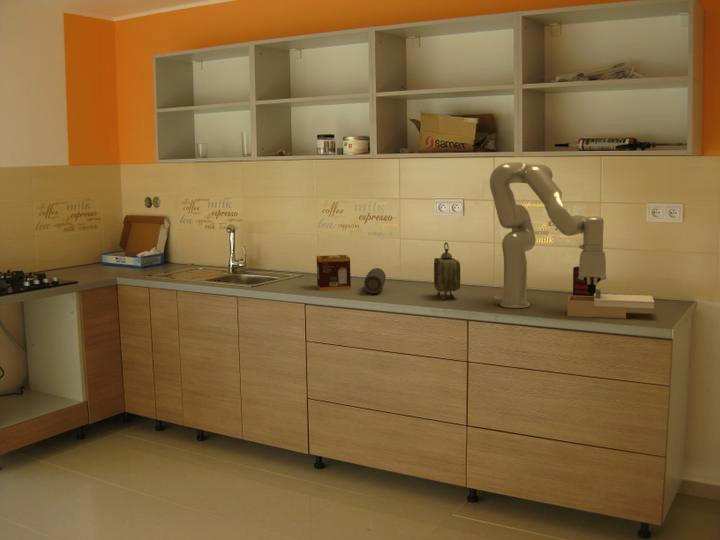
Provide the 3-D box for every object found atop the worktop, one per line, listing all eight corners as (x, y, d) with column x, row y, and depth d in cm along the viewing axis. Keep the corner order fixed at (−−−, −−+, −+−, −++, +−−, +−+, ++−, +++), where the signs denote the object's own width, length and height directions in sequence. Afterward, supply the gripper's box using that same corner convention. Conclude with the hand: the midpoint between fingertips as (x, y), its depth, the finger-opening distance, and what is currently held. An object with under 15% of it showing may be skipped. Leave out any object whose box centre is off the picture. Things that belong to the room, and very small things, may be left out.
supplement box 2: (595, 304, 337) (596, 267, 334) (592, 306, 333) (593, 268, 330) (575, 302, 341) (576, 265, 339) (571, 304, 338) (572, 267, 335)
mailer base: (567, 316, 314) (567, 300, 314) (568, 310, 325) (568, 295, 324) (625, 318, 308) (626, 302, 307) (624, 312, 319) (625, 297, 318)
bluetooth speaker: (383, 295, 364) (383, 274, 363) (363, 295, 365) (362, 274, 364) (386, 287, 386) (386, 266, 385) (367, 287, 387) (367, 266, 386)
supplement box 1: (316, 287, 390) (316, 255, 387) (347, 285, 392) (347, 254, 390) (319, 290, 379) (318, 258, 377) (351, 289, 382) (350, 257, 379)
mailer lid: (594, 306, 310) (594, 293, 310) (593, 300, 322) (594, 287, 322) (653, 308, 304) (654, 295, 303) (651, 302, 316) (652, 289, 315)
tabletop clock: (433, 295, 363) (433, 240, 359) (453, 294, 364) (453, 240, 360) (440, 301, 349) (440, 244, 345) (460, 300, 350) (461, 244, 346)
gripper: (573, 249, 312) (572, 295, 315) (613, 249, 308) (611, 296, 310) (573, 246, 319) (572, 291, 322) (612, 247, 315) (611, 293, 317)
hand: (591, 293), depth 316 cm, fingers closed
